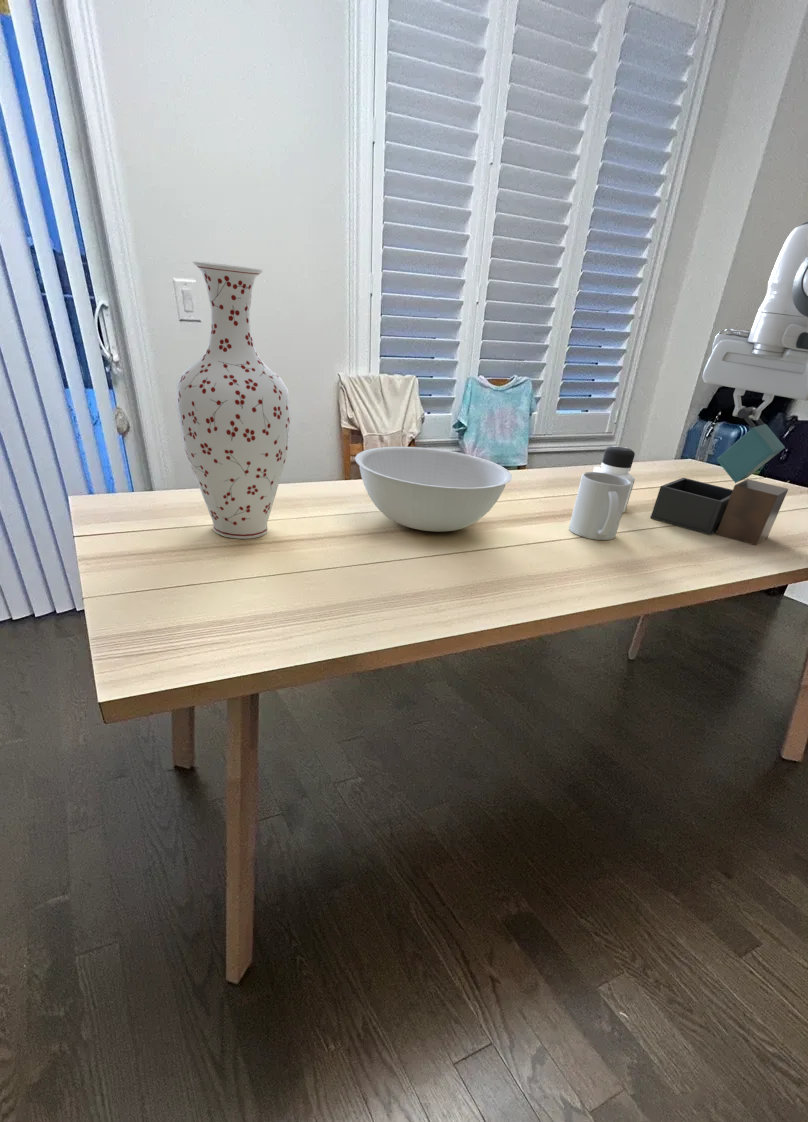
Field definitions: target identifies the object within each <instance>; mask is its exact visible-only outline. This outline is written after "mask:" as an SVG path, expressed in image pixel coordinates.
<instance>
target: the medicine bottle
mask: <svg viewBox="0 0 808 1122" xmlns="http://www.w3.org/2000/svg"><path fill="white" fill-rule="evenodd" d="M635 457H636V452H635V451H634V450H632V449H631V448H628V447H625V446H619V445H610V446H608V447H606V448H605V449H604V453H603V458H602V461H601V464H600V466H595V467H593V470H592V472H601V473H608V474H613V475H617V476H620V477H623V478H626V479H628V480H629V481H630V482H631V486H630V489H629V493H628V496H627V499H626V503H625V506H624V509H623V513H626V511H627V507H628V503H629V500H630V498H631V494H632V490H633V487H634V484H635V477H633V475H632V474H630V472H631V469H632V466H633V462H634V460H635Z"/></svg>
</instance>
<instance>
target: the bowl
mask: <svg viewBox="0 0 808 1122" xmlns="http://www.w3.org/2000/svg"><path fill="white" fill-rule="evenodd" d="M354 460H355V462H356V464H357V465H358V466H359V472H360V476H361V480H362V483H363V486H364V488H365V490H366V493H367V495H368V496H369V498H370V500H371V502H372V503H373V504H374V505H375V507H376V508H377V509H378V511H380V512H381V514H383V515H384V516H385V517H386V518H388V519H390V520H391V521H392V522H394V523H397V524H398V525H401V526H404V527H407V528H410V529H413V530H414V529H415V530H418V531H425V532H434V533H435V532H452V531H458V530H461V529H465V528H468V527H469V526H471V525H473V524H475V523H476V522H479V520H481V519H482V518H483V517H485V516H486V515H487V514H488V513H489V512H490V511H491V509H492V508H493V507H494V506H495V504H496V503H497V502H498V500H499V499H500V497H501V496H502V493H503V492H504V490H505V487H506V485H507V484H508V483H510V482H511V481H512V479H513V474H512V473H511V472H510V471H509V470H508V469H507V468H505V467H504V466H503V465H500V464H498V463H496V462H494V461H491V460H488V459H486V458H482V457H478V456H475V455H471V454H468V453H467V454H466V453H461V452H458V451H451V450H445V449H440V448H439V449H438V448H429V447H421V446H420V447H419V446H418V447H417V446H383V447H375V448H370V449H369V448H368V449H366V450H362V451H360V452H358V453H357V454H356V455H355V456H354Z"/></svg>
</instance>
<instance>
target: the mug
mask: <svg viewBox="0 0 808 1122" xmlns="http://www.w3.org/2000/svg"><path fill="white" fill-rule="evenodd" d="M630 486H631V482H630V481H629V480H628V479H626V478H623V477H620V476H617V475H613V474H608V473H601V472H593V471H588V472H583V473H582V475H581V477H580V481H579V485H578V490H577V494H576V497H575V501H574V505H573V510H572V514H571V517H570V522H569V525H568V529H569V531H570V532H571V533H573V534H575V535H576V536H580V537H581V538H586V539H589V540H597V541H609V540H614V539H615V538H616V536H617V532H618V530H619V526H620V523H621V519H622V516H623V513H624V512H623V509H624V506H625V503H626V499H627V496H628V493H629V489H630Z"/></svg>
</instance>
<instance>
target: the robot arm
mask: <svg viewBox="0 0 808 1122" xmlns="http://www.w3.org/2000/svg"><path fill="white" fill-rule="evenodd" d="M702 380H703V382H704V383H706V384H711V385H716V386H721V387H722V386H723V387H728V388H733V389H734V391H733V401H734V402H733V403H734V409H733V412H732V416H733V417H738V416H737V413H738V411H739V410H741V409H744V408H747V407H746V405H745V406H744V405H742V396H744V395H745V393H746V391H750V392H755V393H759V394H760V393H761V394H763V396H762V398H761V399H762V401H763V402H762V403H761V404H760V405H759V406H758V407H755V408H756V409H755V408H753V409H752V410H751V412H750V413H751V414H750V415H749V418H750V419H751V421H756V420H758V419H759V418H760V416H761V414H762V411H764V409H766V407H767V406H769V405H770V404H771V403H772V402H773V400H774V398H775V396H777V397H783V398H788V399H795V400H799V401H804V402H805V401H806V402H807V401H808V221H805V222H803V223H801V224H799V225H798V226H796V227H795V228H793V229H792V230H791V231H790V233H789V234H788V236H787V238H786V239H785V241H784V244H783V245H782V247H781V249H780V251H779V254H778V256H777V258H776V261H775V263H774V265H773V269H772V271H771V273H770V276H769V279H768V282H767V289H766V294H765V297H764V299H763V301H762V303H761V305H760V306H759V307H758V310H757V312H756V315H755V317H754V321H753V324H752V326H751V329H750V330H748V329H736V328H732V327H728V328H727V327H726V329H724V330H721V331H719V332H718V333H717V334H716V335H715V337H714V339H713V343H712V346H711V354H710V356H709V358H708V360H707V362H706V364H705V367H704V369H703V373H702ZM738 418H739V417H738Z"/></svg>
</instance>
